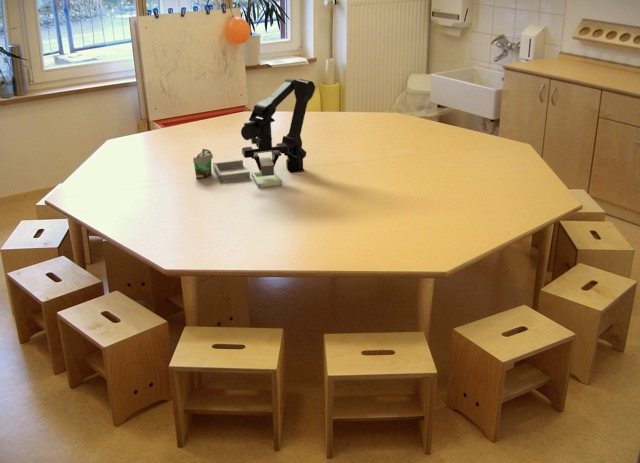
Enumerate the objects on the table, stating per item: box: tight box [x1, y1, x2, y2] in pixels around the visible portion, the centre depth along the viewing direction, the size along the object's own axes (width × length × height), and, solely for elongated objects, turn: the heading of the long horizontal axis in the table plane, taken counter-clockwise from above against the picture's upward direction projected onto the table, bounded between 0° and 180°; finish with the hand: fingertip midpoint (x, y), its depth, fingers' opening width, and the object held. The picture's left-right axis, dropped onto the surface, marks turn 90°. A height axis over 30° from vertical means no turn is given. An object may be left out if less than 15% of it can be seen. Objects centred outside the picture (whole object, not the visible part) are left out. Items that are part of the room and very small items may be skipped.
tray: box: [250, 169, 283, 189], centre depth 321 cm, size 10×14×2 cm
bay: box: [212, 159, 251, 183], centre depth 329 cm, size 13×16×3 cm
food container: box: [192, 148, 214, 180], centre depth 326 cm, size 12×6×10 cm, turn 168°
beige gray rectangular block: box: [259, 156, 275, 176], centre depth 319 cm, size 5×9×5 cm, turn 12°
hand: (266, 169), depth 319 cm, fingers closed on beige gray rectangular block, 5 cm apart
